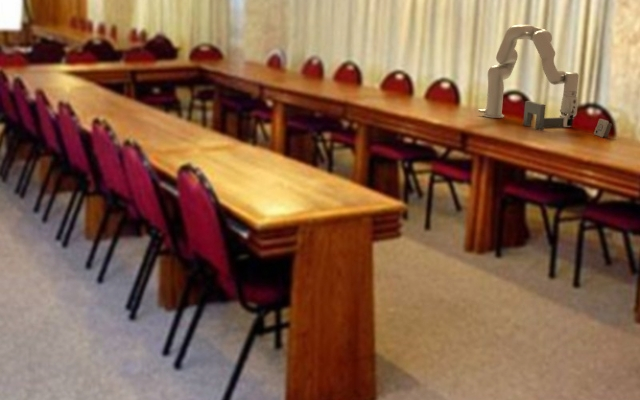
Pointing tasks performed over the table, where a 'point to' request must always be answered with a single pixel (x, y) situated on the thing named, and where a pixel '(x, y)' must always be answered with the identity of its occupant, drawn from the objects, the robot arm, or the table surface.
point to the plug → (556, 121)
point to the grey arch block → (534, 109)
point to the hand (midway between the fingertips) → (566, 124)
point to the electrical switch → (602, 128)
